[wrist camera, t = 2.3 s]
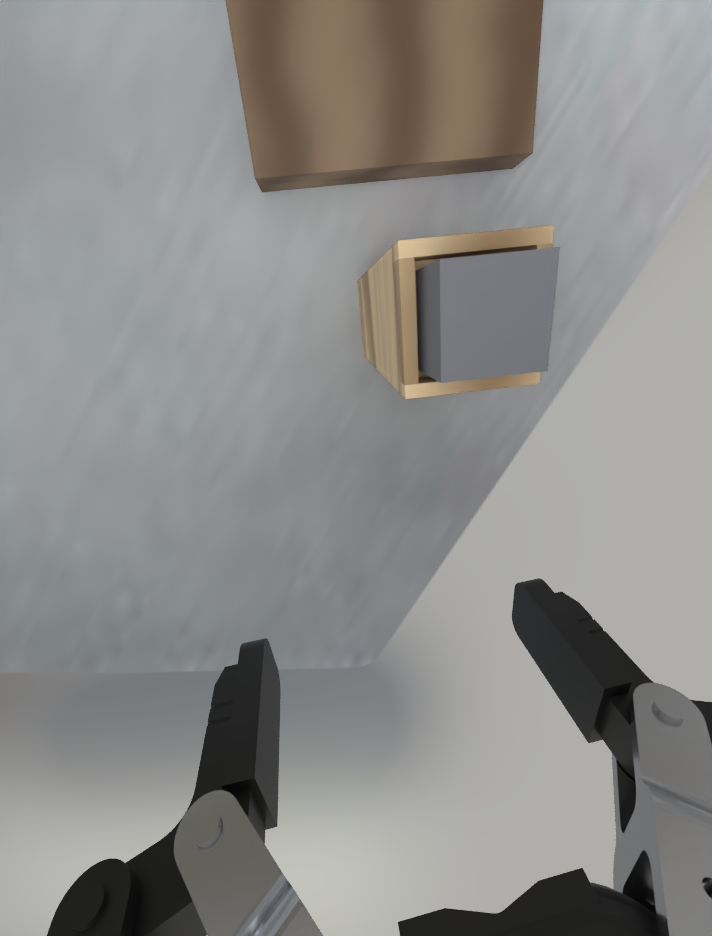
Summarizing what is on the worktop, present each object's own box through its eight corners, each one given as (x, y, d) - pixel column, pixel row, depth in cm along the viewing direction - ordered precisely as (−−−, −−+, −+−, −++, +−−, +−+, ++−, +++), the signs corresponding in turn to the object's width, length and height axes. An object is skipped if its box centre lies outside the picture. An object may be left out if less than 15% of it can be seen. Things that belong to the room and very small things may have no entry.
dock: (262, 191, 23) (255, 178, 21) (215, -97, 19) (199, -155, 16) (512, 168, 24) (532, 152, 22) (527, -118, 19) (555, -177, 17)
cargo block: (418, 369, 14) (441, 383, 12) (415, 271, 13) (439, 259, 10) (504, 360, 14) (547, 370, 12) (510, 260, 13) (559, 246, 10)
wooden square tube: (364, 355, 28) (405, 398, 14) (357, 280, 26) (398, 240, 12) (430, 348, 28) (539, 383, 14) (429, 273, 26) (553, 225, 12)
